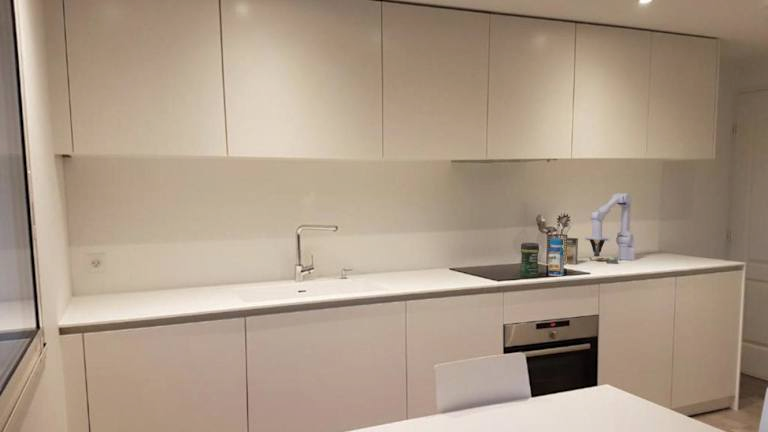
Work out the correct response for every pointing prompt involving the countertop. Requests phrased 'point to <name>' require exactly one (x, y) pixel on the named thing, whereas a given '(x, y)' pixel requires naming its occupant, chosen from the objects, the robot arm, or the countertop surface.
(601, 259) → the board
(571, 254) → the coffee box
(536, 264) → the coffee jar
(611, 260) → the button housing
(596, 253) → the marker
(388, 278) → the countertop surface
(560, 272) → the blue labeled canister
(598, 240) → the robot arm
